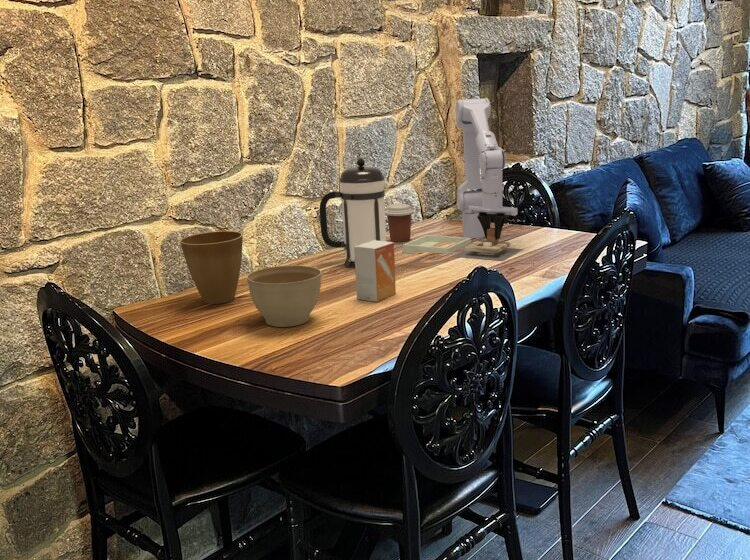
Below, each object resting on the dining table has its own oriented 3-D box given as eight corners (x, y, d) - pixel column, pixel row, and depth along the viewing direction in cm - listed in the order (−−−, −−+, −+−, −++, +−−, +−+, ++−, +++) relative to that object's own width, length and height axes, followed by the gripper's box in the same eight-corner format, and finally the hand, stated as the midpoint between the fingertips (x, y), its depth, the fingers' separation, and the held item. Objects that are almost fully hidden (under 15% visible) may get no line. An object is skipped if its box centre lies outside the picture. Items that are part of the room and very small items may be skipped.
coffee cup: (380, 243, 232) (378, 207, 229) (398, 238, 239) (396, 202, 236) (402, 246, 227) (401, 209, 223) (420, 241, 233) (418, 204, 230)
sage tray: (426, 242, 231) (426, 234, 230) (471, 246, 222) (471, 238, 222) (402, 252, 218) (402, 244, 217) (448, 256, 210) (448, 248, 209)
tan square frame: (478, 243, 214) (478, 226, 213) (510, 245, 209) (510, 228, 208) (464, 250, 206) (464, 233, 205) (496, 253, 201) (496, 235, 200)
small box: (377, 302, 169) (374, 248, 165) (356, 299, 172) (353, 246, 169) (396, 294, 175) (394, 241, 172) (375, 290, 179) (373, 239, 175)
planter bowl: (314, 333, 149) (310, 283, 147) (240, 332, 152) (235, 283, 149) (332, 310, 165) (329, 264, 162) (265, 310, 168) (260, 264, 165)
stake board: (473, 248, 219) (473, 235, 218) (524, 252, 211) (524, 239, 210) (450, 259, 206) (450, 246, 205) (502, 264, 198) (502, 250, 197)
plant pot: (214, 289, 187) (207, 229, 183) (260, 294, 180) (254, 232, 176) (174, 305, 175) (166, 241, 170) (222, 311, 168) (215, 245, 164)
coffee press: (371, 254, 218) (366, 154, 210) (402, 263, 205) (398, 157, 197) (322, 264, 209) (314, 160, 201) (350, 274, 196) (343, 163, 188)
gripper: (463, 193, 207) (464, 239, 211) (510, 195, 200) (510, 242, 203) (473, 189, 213) (474, 234, 217) (520, 191, 205) (520, 238, 209)
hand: (492, 238), depth 210 cm, fingers closed on tan square frame, 2 cm apart
